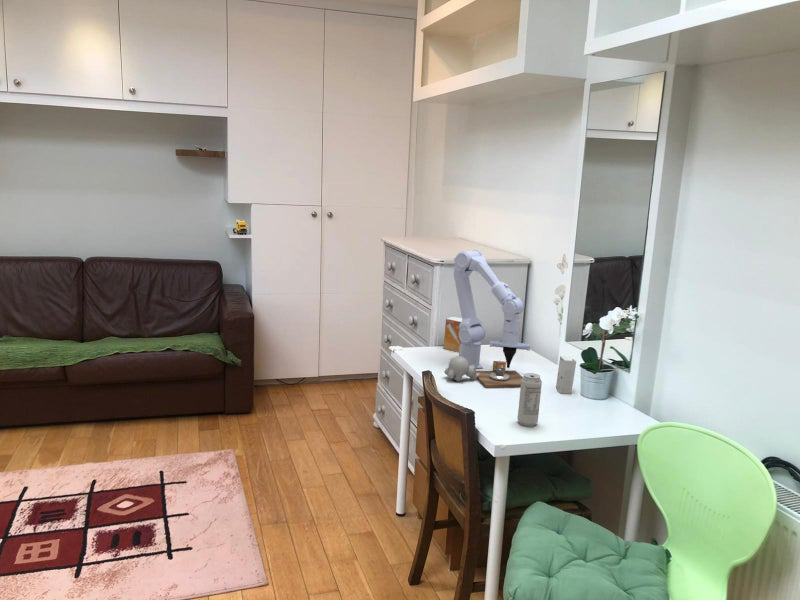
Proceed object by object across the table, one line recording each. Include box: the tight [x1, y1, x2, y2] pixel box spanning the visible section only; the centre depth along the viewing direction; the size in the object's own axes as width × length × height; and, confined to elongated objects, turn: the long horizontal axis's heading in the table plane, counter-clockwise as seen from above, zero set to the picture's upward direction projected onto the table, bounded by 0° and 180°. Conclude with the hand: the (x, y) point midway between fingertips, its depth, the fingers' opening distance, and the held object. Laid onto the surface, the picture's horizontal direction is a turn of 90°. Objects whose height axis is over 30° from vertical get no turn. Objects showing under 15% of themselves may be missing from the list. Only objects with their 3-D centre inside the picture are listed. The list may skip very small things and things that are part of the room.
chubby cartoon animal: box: [444, 355, 479, 382], centre depth 240 cm, size 7×12×8 cm, turn 99°
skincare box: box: [555, 355, 577, 395], centre depth 234 cm, size 6×4×12 cm
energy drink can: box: [517, 372, 543, 427], centre depth 202 cm, size 6×6×15 cm
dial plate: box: [489, 360, 509, 380], centre depth 243 cm, size 12×7×4 cm, turn 167°
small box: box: [443, 316, 462, 353], centre depth 280 cm, size 8×6×13 cm
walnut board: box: [475, 360, 524, 389], centre depth 242 cm, size 16×17×5 cm
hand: (508, 367), depth 248 cm, fingers closed
